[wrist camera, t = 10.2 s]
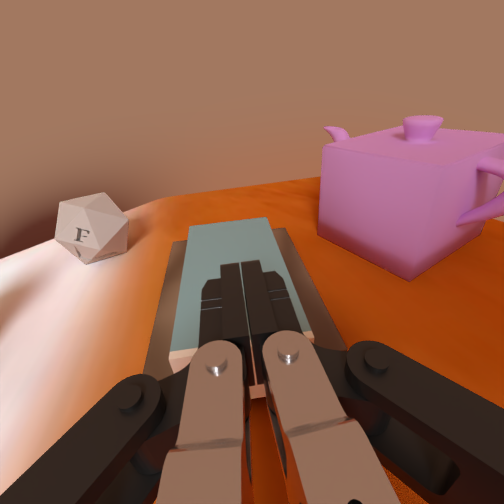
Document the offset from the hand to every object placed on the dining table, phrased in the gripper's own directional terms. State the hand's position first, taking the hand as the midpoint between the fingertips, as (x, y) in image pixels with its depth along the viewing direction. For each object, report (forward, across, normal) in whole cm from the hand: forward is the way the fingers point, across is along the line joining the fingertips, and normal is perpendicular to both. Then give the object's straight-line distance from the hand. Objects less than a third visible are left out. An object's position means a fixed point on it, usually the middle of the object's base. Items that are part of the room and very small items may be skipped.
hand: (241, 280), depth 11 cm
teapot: (+22, -20, +12) cm, 32 cm away
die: (+25, +18, +12) cm, 33 cm away
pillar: (+1, 0, +8) cm, 8 cm away
